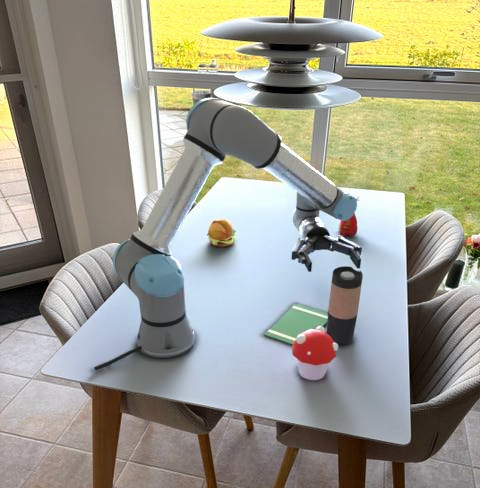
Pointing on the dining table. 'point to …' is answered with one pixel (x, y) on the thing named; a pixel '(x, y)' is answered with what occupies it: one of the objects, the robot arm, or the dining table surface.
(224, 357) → the dining table surface
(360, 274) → the travel mug
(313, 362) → the mushroom
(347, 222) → the red clay folk toy
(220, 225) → the cheeseburger
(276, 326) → the cloth
